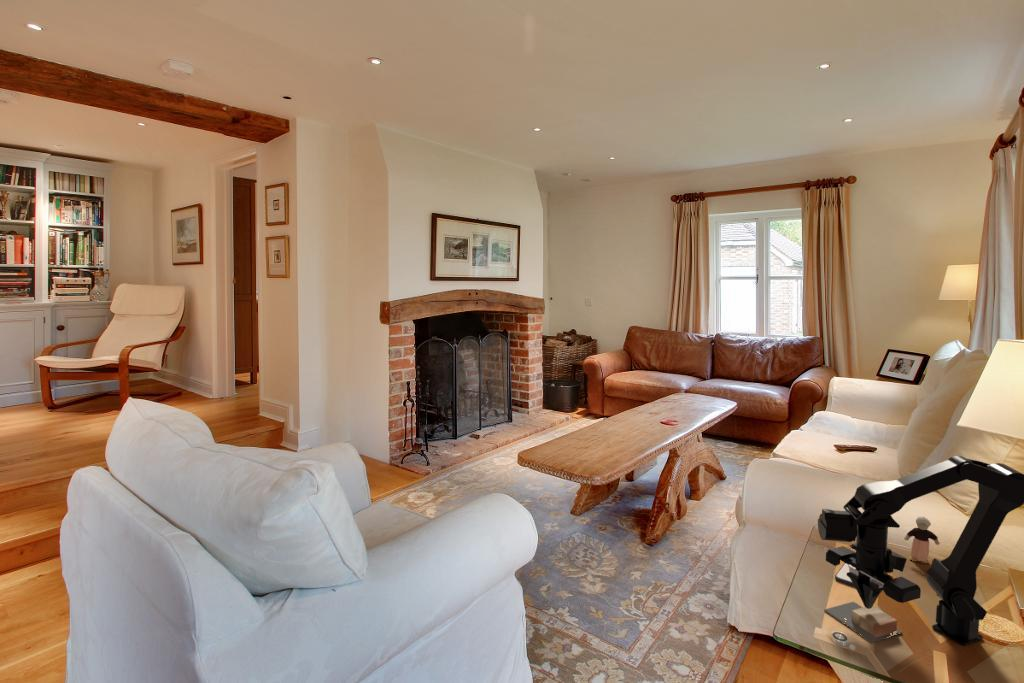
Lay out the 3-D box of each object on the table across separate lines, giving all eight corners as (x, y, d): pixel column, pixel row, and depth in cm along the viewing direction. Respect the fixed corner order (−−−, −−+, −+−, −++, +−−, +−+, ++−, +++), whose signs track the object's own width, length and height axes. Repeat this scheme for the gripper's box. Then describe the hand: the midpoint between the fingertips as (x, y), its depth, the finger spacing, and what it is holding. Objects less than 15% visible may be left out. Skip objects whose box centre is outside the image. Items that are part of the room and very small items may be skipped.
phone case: (872, 595, 134) (888, 569, 145) (872, 589, 134) (888, 563, 144) (832, 582, 140) (851, 557, 151) (833, 576, 140) (851, 552, 151)
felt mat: (902, 633, 119) (902, 632, 119) (871, 643, 116) (871, 641, 116) (853, 603, 130) (853, 601, 130) (824, 611, 127) (824, 609, 127)
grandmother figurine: (907, 562, 147) (910, 518, 145) (902, 555, 151) (904, 512, 149) (940, 566, 145) (943, 521, 143) (934, 559, 148) (937, 515, 147)
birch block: (871, 615, 125) (896, 631, 119) (851, 621, 123) (876, 637, 117) (871, 604, 124) (897, 620, 119) (851, 610, 122) (876, 626, 117)
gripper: (941, 556, 113) (936, 624, 115) (860, 519, 131) (857, 579, 133) (902, 565, 110) (898, 636, 112) (825, 526, 128) (822, 588, 130)
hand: (868, 607), depth 122 cm, fingers closed
